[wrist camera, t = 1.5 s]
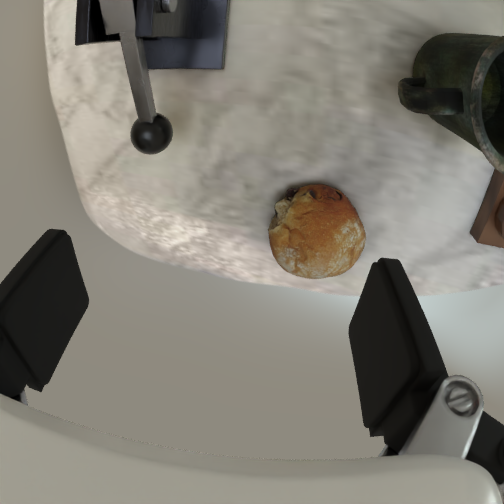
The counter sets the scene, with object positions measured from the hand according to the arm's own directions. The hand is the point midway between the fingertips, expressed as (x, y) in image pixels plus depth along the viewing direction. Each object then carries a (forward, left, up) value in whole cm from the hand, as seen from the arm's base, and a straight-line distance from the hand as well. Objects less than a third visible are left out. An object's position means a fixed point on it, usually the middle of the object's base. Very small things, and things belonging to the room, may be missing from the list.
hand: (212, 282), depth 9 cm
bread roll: (+11, +7, -23) cm, 26 cm away
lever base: (-9, -8, -23) cm, 26 cm away
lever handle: (-5, -8, -16) cm, 18 cm away
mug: (-7, +17, -23) cm, 29 cm away
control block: (+4, +31, -23) cm, 39 cm away
